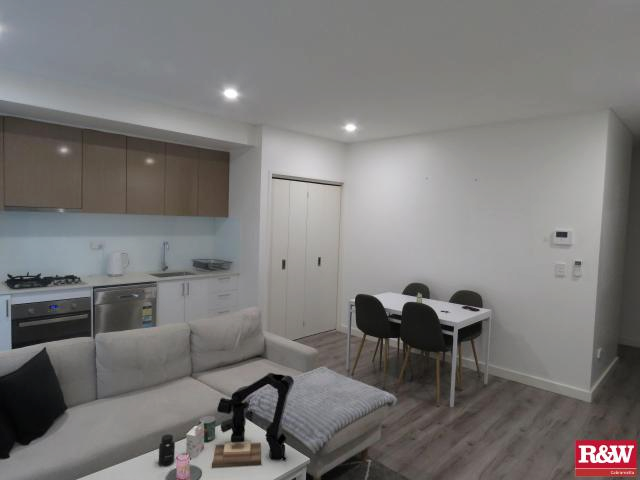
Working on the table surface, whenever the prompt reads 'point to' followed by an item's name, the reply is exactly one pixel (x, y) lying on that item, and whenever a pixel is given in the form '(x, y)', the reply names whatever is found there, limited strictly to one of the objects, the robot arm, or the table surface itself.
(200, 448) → the ink cartridge box
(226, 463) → the display board
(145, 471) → the table surface
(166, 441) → the supplement bottle
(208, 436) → the canned tomato
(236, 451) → the kraft carton
